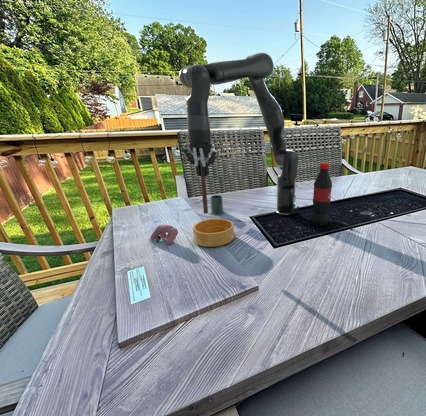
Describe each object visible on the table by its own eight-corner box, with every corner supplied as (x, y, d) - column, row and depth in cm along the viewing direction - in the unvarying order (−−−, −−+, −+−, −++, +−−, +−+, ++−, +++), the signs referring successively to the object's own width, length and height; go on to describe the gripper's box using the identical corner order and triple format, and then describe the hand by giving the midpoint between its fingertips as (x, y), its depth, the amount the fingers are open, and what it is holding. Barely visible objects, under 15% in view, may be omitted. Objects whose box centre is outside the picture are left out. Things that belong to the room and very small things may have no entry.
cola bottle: (330, 223, 129) (336, 162, 119) (324, 229, 122) (330, 165, 112) (315, 220, 132) (319, 160, 122) (308, 225, 125) (312, 163, 115)
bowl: (240, 233, 113) (239, 220, 111) (223, 250, 99) (222, 236, 97) (207, 229, 115) (206, 216, 113) (186, 245, 101) (184, 231, 99)
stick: (208, 212, 104) (205, 162, 98) (206, 213, 103) (202, 163, 96) (205, 212, 105) (201, 162, 98) (202, 213, 103) (198, 162, 97)
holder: (225, 212, 136) (224, 195, 133) (219, 216, 131) (218, 198, 128) (215, 211, 137) (214, 194, 134) (209, 214, 132) (208, 197, 129)
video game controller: (177, 244, 104) (181, 227, 105) (168, 244, 100) (172, 226, 100) (157, 240, 107) (162, 223, 108) (148, 239, 103) (152, 222, 103)
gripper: (221, 129, 96) (224, 175, 101) (187, 126, 98) (192, 172, 103) (211, 129, 89) (214, 179, 94) (174, 127, 91) (180, 176, 96)
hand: (202, 175), depth 99 cm, fingers closed on stick, 1 cm apart
